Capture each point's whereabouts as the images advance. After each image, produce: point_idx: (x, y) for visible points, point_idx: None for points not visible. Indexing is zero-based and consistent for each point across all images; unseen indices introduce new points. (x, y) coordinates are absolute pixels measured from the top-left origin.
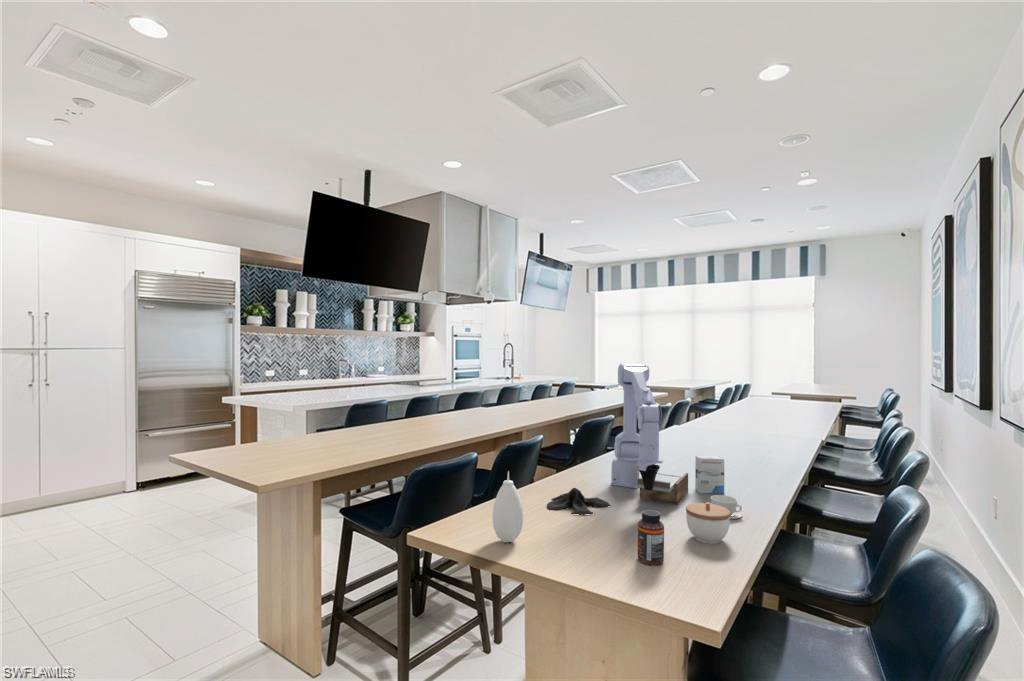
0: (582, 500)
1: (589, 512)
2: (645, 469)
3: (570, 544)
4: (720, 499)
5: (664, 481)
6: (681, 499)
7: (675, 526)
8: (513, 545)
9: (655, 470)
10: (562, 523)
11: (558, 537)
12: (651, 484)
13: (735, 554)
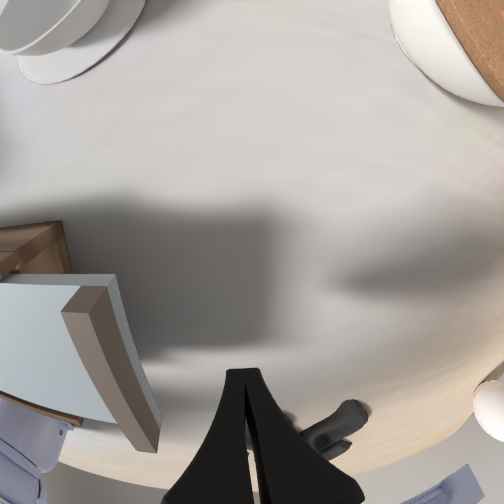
0: None
1: (358, 408)
2: (468, 471)
3: (496, 332)
4: (11, 37)
5: (78, 350)
6: (5, 228)
7: (373, 148)
8: (488, 375)
9: (356, 490)
10: (419, 398)
11: (474, 361)
12: (271, 400)
13: None
